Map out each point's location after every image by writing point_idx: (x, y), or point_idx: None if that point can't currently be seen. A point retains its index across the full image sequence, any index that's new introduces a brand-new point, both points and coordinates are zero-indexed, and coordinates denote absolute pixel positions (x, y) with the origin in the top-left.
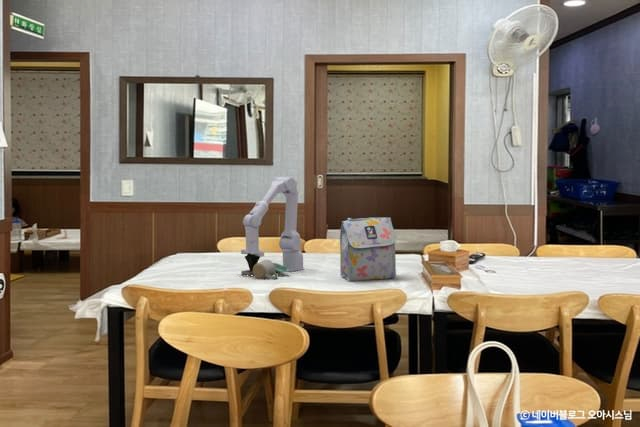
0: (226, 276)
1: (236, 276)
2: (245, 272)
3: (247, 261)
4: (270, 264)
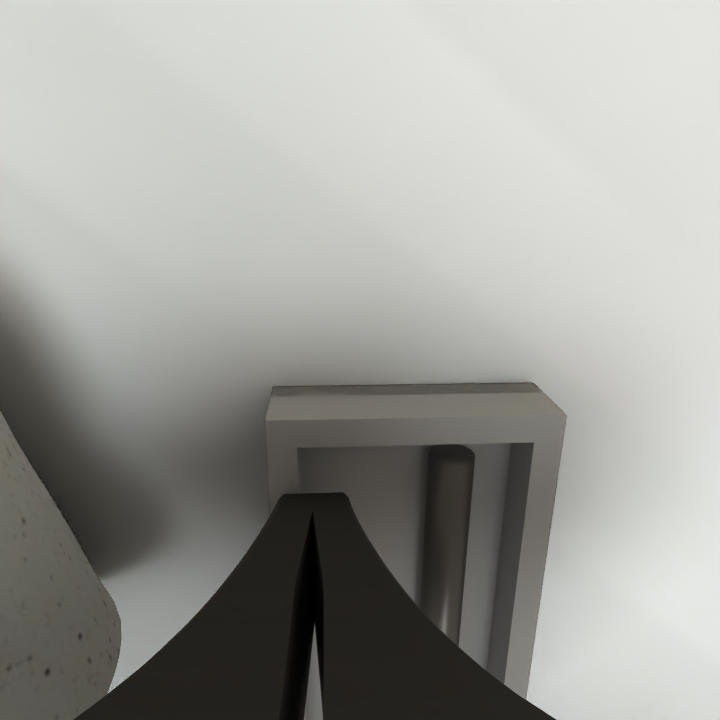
0: (659, 42)
1: (482, 208)
2: (414, 412)
3: (410, 632)
4: None
